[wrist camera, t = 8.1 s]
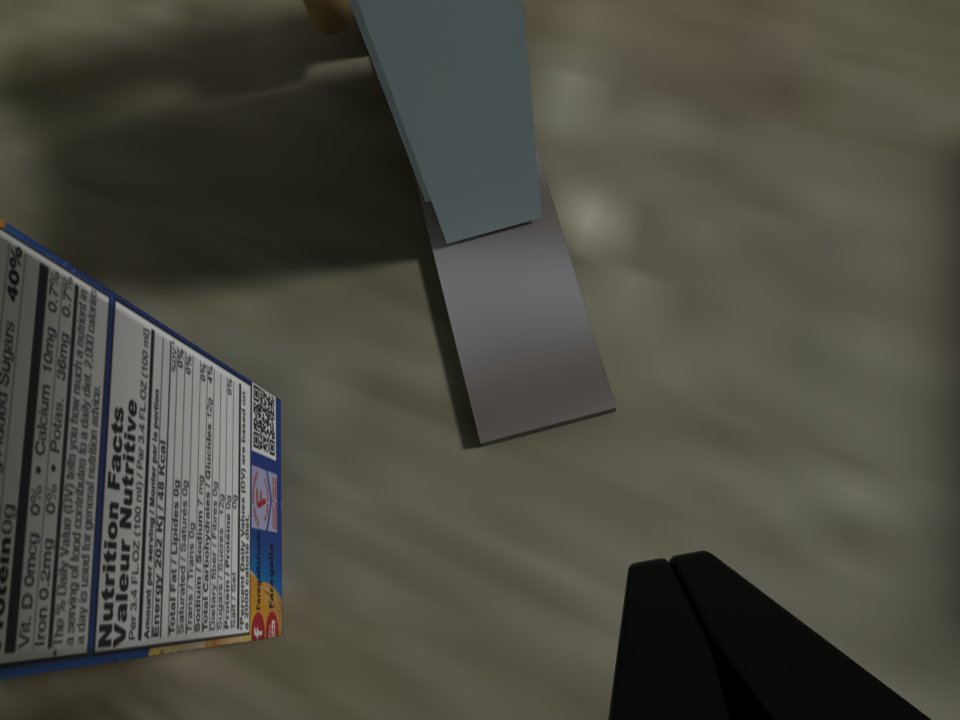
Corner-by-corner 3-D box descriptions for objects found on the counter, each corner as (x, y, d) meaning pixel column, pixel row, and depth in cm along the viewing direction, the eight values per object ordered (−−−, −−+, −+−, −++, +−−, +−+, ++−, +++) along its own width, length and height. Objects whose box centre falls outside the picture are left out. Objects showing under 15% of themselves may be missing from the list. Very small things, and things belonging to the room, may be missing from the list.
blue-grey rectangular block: (541, 217, 24) (511, -129, 12) (439, 245, 24) (314, -71, 12) (486, 34, 26) (417, -406, 14) (392, 61, 26) (250, -354, 15)
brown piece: (631, 407, 23) (701, 183, 10) (420, 463, 23) (236, 311, 10) (497, -21, 27) (434, -524, 15) (323, 29, 28) (121, -425, 15)
